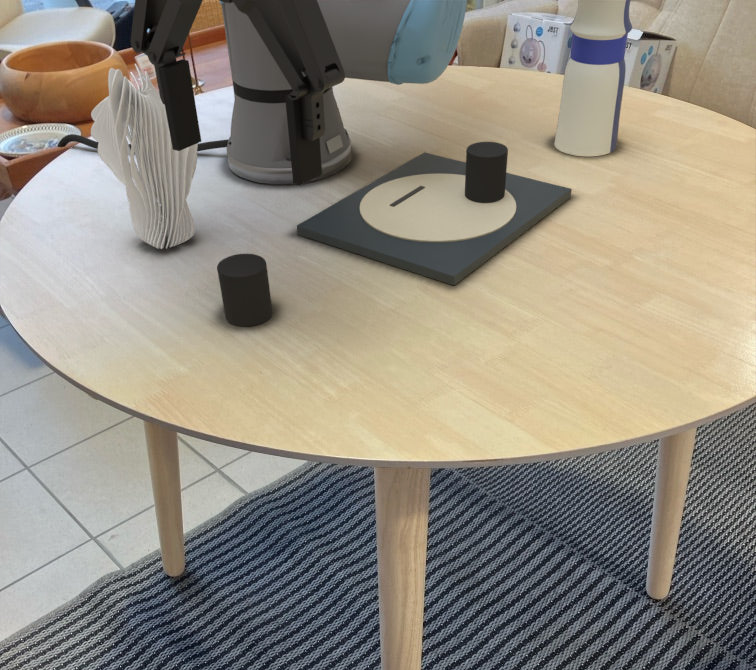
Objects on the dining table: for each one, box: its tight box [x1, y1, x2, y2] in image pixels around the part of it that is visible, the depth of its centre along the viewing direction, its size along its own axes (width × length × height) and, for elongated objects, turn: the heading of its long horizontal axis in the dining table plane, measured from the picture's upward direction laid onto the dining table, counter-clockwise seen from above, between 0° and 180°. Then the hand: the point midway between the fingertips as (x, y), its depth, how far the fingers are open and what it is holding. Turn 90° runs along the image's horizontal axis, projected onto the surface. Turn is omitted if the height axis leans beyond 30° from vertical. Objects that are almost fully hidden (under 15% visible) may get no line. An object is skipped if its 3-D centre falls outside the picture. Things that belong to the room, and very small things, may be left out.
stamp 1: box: [216, 253, 273, 327], centre depth 78 cm, size 4×4×5 cm
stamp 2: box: [465, 141, 509, 203], centre depth 93 cm, size 4×4×5 cm
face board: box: [296, 151, 573, 286], centre depth 93 cm, size 20×24×1 cm
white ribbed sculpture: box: [90, 63, 199, 250], centre depth 85 cm, size 8×8×18 cm
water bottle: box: [553, 0, 633, 157], centre depth 99 cm, size 8×9×25 cm
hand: (244, 162), depth 71 cm, fingers open, 13 cm apart
